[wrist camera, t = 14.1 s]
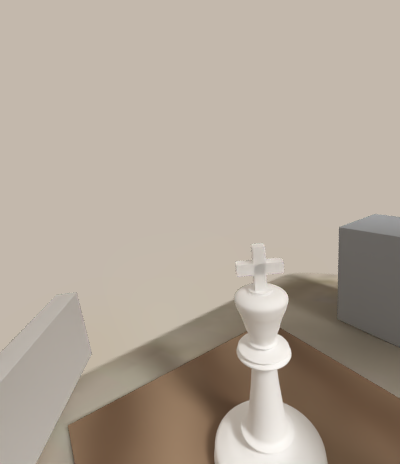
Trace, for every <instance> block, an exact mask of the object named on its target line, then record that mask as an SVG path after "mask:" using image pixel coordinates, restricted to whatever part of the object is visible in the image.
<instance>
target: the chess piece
mask: <svg viewBox="0 0 400 464" xmlns="http://www.w3.org/2000/svg"><path fill="white" fill-rule="evenodd" d="M251 249H252V250H251V251H252V260H246V261H236V262H235V265H236V274H237V277H241V276H253V283H252V284H248V285H245V286H243V287H241V288H240V289H238V291H237V292H236V293H235V295H234V302H235V305H236V308H237V310H238V312H239V314H240V315H241V318H242V320H243V322H244V325H245V328H246V330H247V332H248V333H247V334H245V335H244V336H243V337H242V338H241V339H240V340H239V342H238V346H237V356H238V358H239V359H240V361H241V362H242V363H243V364H245V365H246V366H248V367H250V368H252V370H251V388H250V400H249V401H246V402H243V403H241V404H239V405H237V406H235V407H234V408H233V409H231V410H230V411H229V412H228V413H227V414H226V415H225V416H224V418H223V419H222V421H221V423H220V425H219V427H218V430H217V433H216V438H215V449H214V462H215V464H328V462H327V457H326V451H325V447H324V444H323V441H322V439H321V437H320V435H319V433H318V431H317V430H316V428H315V427H314V426H313V424H312V423H311V422H310V421H309V420H308V419H307V418H306V417H305V416H304V415H303V414H302V413H301V412H299V411H298V410H296V409H295V408H293V407H291V406H289V405H287V404H285V403H283V401H282V396H281V390H280V385H279V379H278V371H277V369H280V368H282V367H284V366H285V365H286V364H287V363H288V362H289V361H290V359H291V349H290V347H289V344H288V342H287V341H286V340H285V339H284V338H283V337H282V336H280V335H279V334H277V333H278V331H279V328H280V324H281V321H282V318H283V315H284V313H285V311H286V308H287V305H288V295H287V293H286V292H285V291H284V290H283V289H282V288H280V287H278V286H276V285H273V284H270V283H267V274H279V273H284V262H283V260H282V259H281V258H270V259H266V254H265V246H264V244H263V243H258V244H251Z"/></svg>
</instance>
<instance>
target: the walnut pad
mask: <svg viewBox="0 0 400 464" xmlns="http://www.w3.org/2000/svg"><path fill="white" fill-rule="evenodd" d="M247 333H248V332H247V331H246V332H244V333H243V334H241V335H239V336H237V337H235V338H233V339H231V340H229V341H227V342H225V343H224V344H222V345H220V346H218V347H216V348H214V349H212V350H210V351H208V352H207V353H205V354H203V355H201V356H199V357H197V358H195V359H193V360H191V361H189V362H188V363H186V364H184V365H182V366H180V367H178V368H176V369H174V370H172V371H170V372H169V373H167V374H165V375H163V376H161V377H159V378H157V379H155V380H153V381H151V382H150V383H148V384H146V385H144V386H142V387H140V388H138V389H136V390H134V391H133V392H131V393H129V394H127V395H125V396H123V397H121V398H119V399H117V400H115V401H114V402H112V403H110V404H108V405H106V406H104V407H102V408H100V409H98V410H96V411H95V412H93V413H91V414H89V415H87V416H85V417H83V418H81V419H79V420H77V421H76V422H74V423H72V424H70V425H68V429H69V435H70V440H71V445H72V451H73V456H74V462H75V464H215V462H214V449H215V438H216V433H217V430H218V427H219V425H220V423H221V421H222V419H223V418H224V416H225V415H226V414H227V413H228V412H229V411H230V410H231V409H233V408H234V407H235V406H237V405H239V404H241V403H243V402H246V401H249V400H250V388H251V370H252V368H250V367H248V366H246V365H245V364H243V363H242V362H241V361H240V359H239V358H238V356H237V346H238V342H239V340H240V339H241V338H242V337H243V336H244V335H245V334H247ZM277 334H279V335H280V336H282V337H283V338H284V339H285V340H286V341H287V342H288V344H289V347H290V349H291V359H290V361H289V362H288V363H287V364H286V365H285V366H284V367H282V368H280V369H277V371H278V379H279V385H280V390H281V396H282V401H283V403H285V404H287V405H289V406H291V407H293V408H295V409H296V410H298V411H299V412H301V413H302V414H303V415H304V416H305V417H306V418H307V419H308V420H309V421H310V422H311V423H312V424H313V426H314V427H315V428H316V430H317V431H318V433H319V435H320V437H321V439H322V441H323V444H324V447H325V451H326V457H327V462H328V464H400V398H398V397H396V396H395V395H393V394H391V393H390V392H388V391H386V390H385V389H383V388H381V387H380V386H378V385H376V384H374V383H373V382H371V381H369V380H368V379H366V378H364V377H363V376H361V375H359V374H357V373H356V372H354V371H352V370H351V369H349V368H347V367H346V366H344V365H342V364H340V363H339V362H337V361H335V360H334V359H332V358H330V357H329V356H327V355H325V354H323V353H322V352H320V351H318V350H317V349H315V348H313V347H312V346H310V345H308V344H307V343H305V342H303V341H301V340H300V339H298V338H296V337H295V336H293V335H291V334H290V333H288V332H286V331H284V330H283V329H281V328H279V331H278V333H277Z"/></svg>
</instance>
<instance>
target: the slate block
mask: <svg viewBox="0 0 400 464" xmlns="http://www.w3.org/2000/svg"><path fill="white" fill-rule="evenodd" d="M338 262H339V263H338V264H339V265H338V309H337V319H338V320H340V321H343V322H345V323H347V324H349V325H351V326H354V327H356V328H358V329H360V330H362V331H365V332H367V333H369V334H371V335H373V336H375V337H378V338H380V339H382V340H384V341H386V342H389V343H391V344H393V345H395V346H397V347H400V217H395V216H387V215H377V214H374V215H371V216H368V217H366V218H363V219H361V220H357V221H355V222H352V223H349V224H347V225H344V226H341V227H339V260H338Z"/></svg>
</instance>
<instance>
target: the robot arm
mask: <svg viewBox="0 0 400 464" xmlns="http://www.w3.org/2000/svg"><path fill="white" fill-rule="evenodd" d="M91 354H92V352H91V349H90V344H89V340H88V336H87V332H86V328H85V324H84V320H83V316H82V312H81V308H80V303H79V299H78V295H77V293H67V294H58V295H56V296H55V297H54V298H53V299H52V300H51V301H50V302H49V303H48V304H47V305H46V306H45V307H44V308H43V309H42V310H41V312H39V313H38V314H37V316H36V317H35V318H34V319H33V320H32V321H31V322H30V323H29V324H28V325H27V326H26V327H25V328H24V329H23V330H22V331H21V332H20V333H19V334H18V335H17V336H16V337H15V338H14V339H13V340H12V341H11V342H10V343H9V344H8V345H7V346H6V347H5V348H4V349H3V350H2V351H1V352H0V464H36V463H37V461H38V459H39V457H40V455H41V453H42V451H43V449H44V447H45V445H46V443H47V441H48V439H49V437H50V435H51V433H52V431H53V429H54V427H55V425H56V423H57V421H58V419H59V417H60V415H61V413H62V411H63V409H64V407H65V406H66V404H67V402H68V400H69V398H70V396H71V394H72V392H73V390H74V388H75V386H76V384H77V382H78V380H79V378H80V376H81V374H82V372H83V370H84V368H85V366H86V364H87V362H88V360H89V358H90V356H91Z"/></svg>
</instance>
